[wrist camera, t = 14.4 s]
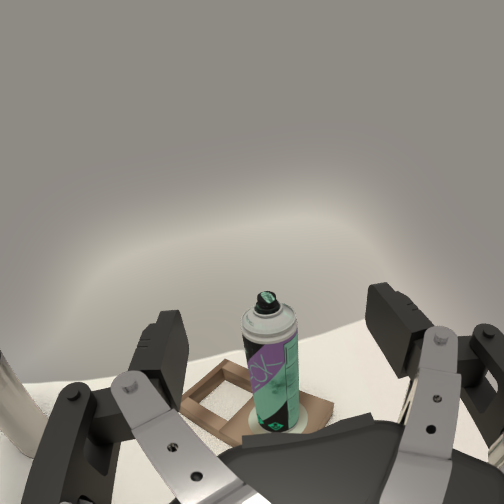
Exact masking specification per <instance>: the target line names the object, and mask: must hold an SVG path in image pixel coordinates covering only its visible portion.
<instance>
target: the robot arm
mask: <svg viewBox="0 0 504 504" xmlns="http://www.w3.org/2000/svg"><path fill="white" fill-rule="evenodd" d="M365 320H366V325H367V328H368V330H369V331H370V333H371V334H372V336H373V338H374V339H375V341H376V342H377V344H378V346H379V347H380V349H381V351H382V352H383V354H384V355H385V357H386V359H387V360H388V362H389V364H390V365H391V367H392V369H393V370H394V372H395V374H396V376H397V377H398V379H400V378H403V377H406V376H409V378H410V381H409V384H408V388H407V392H406V395H405V399H404V402H403V406H402V409H401V412H400V415H399V418H398V421H397V423H396V422H391V421H384V420H374V419H373V417H372V415H371V412H370V413H366V414H363V415H359V416H355V417H351V418H347V419H343V420H340V421H338V422H336V423H334V424H331V425H329V426H327V427H325V428H322V429H320V430H318V431H315V432H313V433H309V434H301V433H281V432H272V433H263V434H254V435H243V436H242V444H241V445H238V446H235V447H233V448H230V449H228V450H226V451H224V452H223V453H221V454H219V455H218V456H216V455H215V454H214V453H213V452H212V451H211V450H210V449H209V448H208V447H207V446H206V444H205V443H204V442H203V441H202V440H201V439H200V438H199V437H198V436H197V435H196V433H195V432H194V431H193V430H192V429H191V428H190V427H189V425H188V424H187V423H186V422H185V421H184V420H183V418H182V417H181V416H180V415H179V414H178V412H180V406H181V399H182V393H183V386H184V380H185V373H186V367H187V361H188V355H189V344H188V339H187V335H186V332H185V328H184V325H183V321H182V317H181V314H180V312H179V310H169V311H161V312H160V314H159V317H158V319H157V322H156V323H153V324H150V325H149V326H148V327H147V328H146V329H145V330H144V331H143V332H142V335H141V337H140V341H139V342H138V345H137V348H136V350H135V353H134V356H133V358H132V361H131V363H130V366H129V369H128V371H127V372H124V373H122V374H120V375H118V376H117V377H116V378H115V379H114V380H113V382H112V384H111V387H109V388H105V389H101V390H96V391H91V390H90V388H89V386H88V385H87V384H85V383H82V382H75V383H71V384H69V385H67V386H66V387H64V388H63V389H62V391H61V392H60V394H59V396H58V398H57V400H56V403H55V405H54V407H53V410H52V412H51V415H50V417H49V419H48V418H47V417H46V416H45V414H44V413H43V412H42V411H41V409H40V408H39V407H38V406H37V404H36V403H35V402H34V400H33V399H32V398H31V396H30V395H29V393H28V392H27V391H26V389H25V388H24V386H23V385H22V384H21V382H20V381H19V379H18V378H17V376H16V375H15V373H14V372H13V370H12V368H11V367H10V365H9V364H8V362H7V361H6V359H5V357H4V356H3V354H2V352H1V350H0V430H1V431H2V432H3V433H4V434H5V435H6V436H7V437H8V439H9V440H10V441H11V442H12V443H13V444H14V445H15V446H16V447H17V448H18V449H19V450H20V451H21V452H22V453H24V454H25V455H26V456H28V457H31V458H34V460H33V463H32V466H31V470H30V473H29V476H28V479H27V483H26V486H25V490H24V493H23V497H22V501H21V504H111V501H112V493H113V486H114V480H115V473H116V467H117V461H118V456H119V450H120V445H121V442H122V441H127V440H132V439H136V440H137V442H138V443H139V445H140V446H141V448H142V450H143V451H144V453H145V454H146V456H147V457H148V459H149V460H150V462H151V463H152V465H153V466H154V468H155V469H156V471H157V472H158V474H159V475H160V476H161V478H162V479H163V480H164V482H165V483H166V485H167V486H168V487H169V489H170V490H171V491H172V493H173V494H174V495H175V496H176V498H175V499H174V500H172V501H171V502H170V503H169V504H504V335H503V334H502V333H501V332H500V330H499V329H498V328H496V327H494V326H493V325H490V324H479V325H477V326H476V327H475V328H474V331H473V334H472V336H458V337H457V335H456V334H455V332H453V331H452V330H451V329H449V328H447V327H443V326H434V325H433V324H432V322H431V321H430V320H429V319H428V318H427V317H426V316H425V315H424V314H423V313H422V311H421V310H419V309H418V307H417V306H416V305H415V304H414V303H413V302H412V301H411V300H410V298H409V297H407V296H406V295H404V294H402V293H400V292H399V291H396V292H395V291H394V290H393V288H392V287H391V286H390V285H389V284H388V283H386V282H384V283H378V284H373V285H370V286H369V288H368V295H367V305H366V313H365ZM488 370H489V371H490V373H491V374H492V375H493V377H494V378H495V379H496V381H497V383H498V391H497V393H496V391H495V390H494V388H493V387H492V386H491V384H490V383H489V381H488V380H487V378H486V377H485V375H486V374H487V372H488ZM460 398H461V400H462V401H463V403H464V405H465V406H466V408H467V410H468V411H469V413H470V415H471V417H472V418H473V420H474V422H475V424H476V426H477V427H478V429H479V431H480V433H481V435H482V437H483V439H484V441H485V442H486V444H487V446H488V448H489V452H488V460H489V461H488V462H484V461H482V460H479V459H477V458H474V457H472V456H469V455H467V454H465V453H462V452H460V451H458V450H455V449H453V443H454V437H455V431H456V425H457V418H458V410H459V401H460Z"/></svg>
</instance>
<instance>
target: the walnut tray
mask: <svg viewBox="0 0 504 504" xmlns="http://www.w3.org/2000/svg"><path fill="white" fill-rule="evenodd" d="M224 380H227V381H229V382H231V383H233V384H235V385H237V386H239V387H241V388H243V389H245V390H247V391H249V392H251V393H253V392H252V387H251V381H250V376H249V370H248V369H246V368H244V367H242V366H240V365H238V364H235V363H233V362H231V361H229V360H227V359H224V360H223V361H222V362H221V363H220V364H219V365H217V366H216V367H215V368H214V369H213V370H212V371H211V372H209V373H208V374H207V375H206V376H205V377H203V378H202V379H201V380H200V381H199V382H198V383H196V384H195V385H194V386H193V387H192V388H190V389H189V390H188V391H187V392H186V393H184V394H183V395H182V399H181V406H180V413H181V414H182V415H184V416H185V417H187V418H188V419H190V420H191V421H192V422H194V423H195V424H197V425H198V426H200V427H201V428H203V429H204V430H206V431H208V432H209V433H211V434H212V435H214V436H215V437H217V438H219V439H220V440H222V441H223V442H225V443H227V444H228V445H230V446H232V447H235V446H238V445H241V444H242V436H243V435H254V434H263V433H266V432H265V431H263V430H262V429H261V428H260V426H259V423H258V419H257V414H256V409H255V403H254V398H253V396H252V398H251V399H250V400H249V401H248V402H247V403H246V404H245V405H244V406H243V407H242V408H241V409H240V410H239V411H238V412H237V413H236V414H235V415H234V416H233V417H232V418H231V419H230V420H229V421H226V420H225V419H223V418H221V417H220V416H218V415H216V414H214V413H213V412H211V411H210V410H208V409H206V408H205V407H203V406H201V405H200V404H198V403H199V402H201V401H202V400H203V399H204V398H205V397H206V396H207V395H208V394H210V393H211V392H212V391H213V390H214V389H215V388H216V387H217V386H218V385H220V384H221V383H222V382H223V381H224ZM333 407H334V403H333V402H330V401H327V400H324V399H321V398H318V397H316V396H313V395H310V394H307V393H305V392H302V391H300V390H299V420H298V423H297V425H296V427H295V428H294V429H293V430H292V431H290V432H289V433H301V434H309V433H313V432H315V431H318V430H320V429H322V428H324V427H325V425H326V424H327V422H328V421H329V419H330V418H331V416H332V414H333Z"/></svg>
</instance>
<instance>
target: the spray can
mask: <svg viewBox="0 0 504 504" xmlns="http://www.w3.org/2000/svg"><path fill="white" fill-rule="evenodd" d="M257 300H258V302H257V303H256V304H254V306H252V307H250V308H249V309H247V310H246V311H245V312H244V313H243V315H242V317H241V323H242V324H241V330H242V336H243V341H244V347H245V353H246V359H247V365H248V370H249V376H250V381H251V387H252V392H253V398H254V403H255V409H256V414H257V419H258V423H259V426H260V428H261V429H262V430H263V431H265V432H266V433H272V432H281V433H289V432H290V431H292V430H293V429H294V428H295V427H296V425H297V423H298V420H299V369H298V330H297V329H298V328H297V319H296V313H295V311H294V310H293V309H292V308H291V307H290V306H288V305H286V304H283V303H280V302H279V301H277V300H276V295H275V294H274V293H273V292H270V291H264V292H261V293H260V294H258V296H257Z"/></svg>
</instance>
